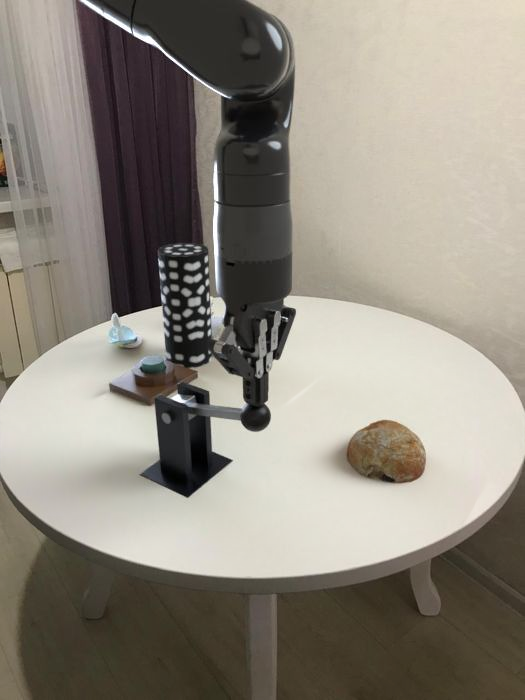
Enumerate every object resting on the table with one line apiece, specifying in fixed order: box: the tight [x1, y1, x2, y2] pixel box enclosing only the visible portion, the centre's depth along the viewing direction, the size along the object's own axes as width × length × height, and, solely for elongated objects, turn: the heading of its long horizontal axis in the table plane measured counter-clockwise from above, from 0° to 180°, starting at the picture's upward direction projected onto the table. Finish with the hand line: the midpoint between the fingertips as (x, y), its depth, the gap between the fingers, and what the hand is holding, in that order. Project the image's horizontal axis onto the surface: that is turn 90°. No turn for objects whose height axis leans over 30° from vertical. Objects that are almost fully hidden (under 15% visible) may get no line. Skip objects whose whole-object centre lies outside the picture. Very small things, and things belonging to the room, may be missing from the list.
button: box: [140, 354, 165, 374], centre depth 94 cm, size 4×4×2 cm
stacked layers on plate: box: [210, 295, 223, 338], centre depth 118 cm, size 10×9×6 cm
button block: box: [108, 358, 199, 407], centre depth 95 cm, size 11×9×4 cm
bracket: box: [139, 382, 234, 499], centre depth 73 cm, size 8×9×12 cm
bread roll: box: [345, 419, 427, 484], centre depth 76 cm, size 10×10×8 cm
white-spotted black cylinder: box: [157, 242, 214, 369], centre depth 102 cm, size 8×8×20 cm
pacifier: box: [108, 312, 143, 349], centre depth 110 cm, size 7×6×6 cm
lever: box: [170, 393, 272, 433], centre depth 68 cm, size 14×3×3 cm, turn 56°
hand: (256, 402), depth 64 cm, fingers closed
